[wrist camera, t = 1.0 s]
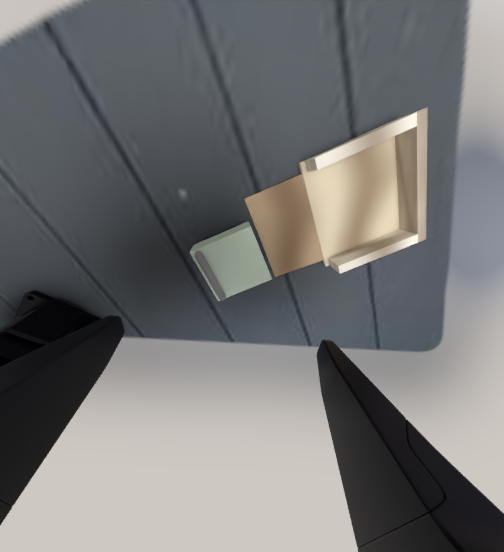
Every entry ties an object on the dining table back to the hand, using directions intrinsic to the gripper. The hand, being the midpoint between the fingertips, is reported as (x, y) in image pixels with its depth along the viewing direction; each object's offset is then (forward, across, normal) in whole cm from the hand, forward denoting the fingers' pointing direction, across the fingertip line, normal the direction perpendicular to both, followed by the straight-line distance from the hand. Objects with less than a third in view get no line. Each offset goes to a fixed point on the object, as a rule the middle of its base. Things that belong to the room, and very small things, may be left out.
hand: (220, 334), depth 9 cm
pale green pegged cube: (+11, +1, +1) cm, 11 cm away
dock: (+13, -7, -4) cm, 15 cm away
